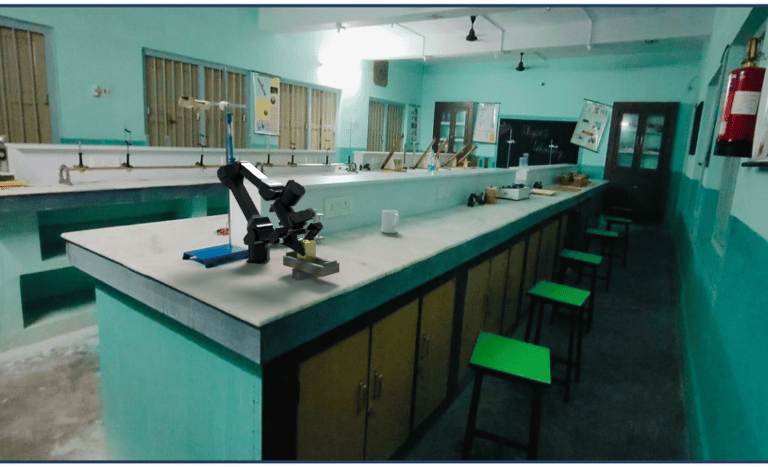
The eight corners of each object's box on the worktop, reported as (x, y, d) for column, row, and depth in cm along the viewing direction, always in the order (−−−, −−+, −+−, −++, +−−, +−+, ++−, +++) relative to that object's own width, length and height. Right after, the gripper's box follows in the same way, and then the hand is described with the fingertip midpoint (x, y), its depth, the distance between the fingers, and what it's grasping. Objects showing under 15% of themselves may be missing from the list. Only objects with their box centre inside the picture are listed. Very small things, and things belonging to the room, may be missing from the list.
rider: (297, 262, 141) (297, 240, 140) (307, 260, 145) (307, 239, 143) (305, 264, 139) (305, 243, 138) (315, 262, 142) (315, 241, 141)
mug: (378, 230, 221) (379, 209, 219) (392, 229, 225) (393, 209, 222) (390, 235, 210) (391, 213, 208) (404, 234, 214) (405, 213, 212)
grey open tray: (281, 274, 143) (281, 253, 142) (302, 268, 150) (302, 248, 149) (319, 287, 133) (320, 264, 131) (340, 280, 140) (341, 259, 138)
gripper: (274, 202, 133) (299, 244, 129) (320, 197, 147) (343, 235, 143) (258, 223, 139) (281, 265, 135) (303, 217, 154) (325, 254, 149)
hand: (309, 254), depth 140 cm, fingers closed on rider, 4 cm apart
